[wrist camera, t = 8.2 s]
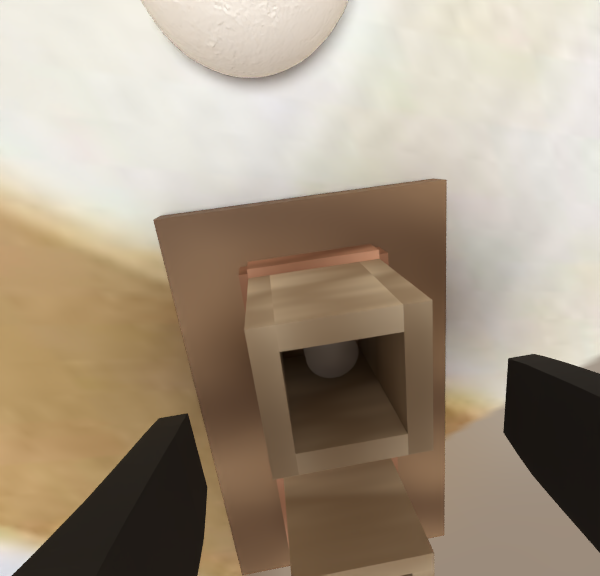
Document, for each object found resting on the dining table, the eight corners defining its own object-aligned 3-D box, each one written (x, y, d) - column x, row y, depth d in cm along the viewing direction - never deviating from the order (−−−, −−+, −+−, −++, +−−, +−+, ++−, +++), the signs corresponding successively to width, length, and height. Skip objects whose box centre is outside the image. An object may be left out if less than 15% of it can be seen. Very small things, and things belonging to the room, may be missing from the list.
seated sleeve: (393, 517, 18) (443, 647, 13) (289, 538, 17) (301, 677, 13) (389, 432, 16) (443, 544, 11) (273, 452, 16) (280, 576, 11)
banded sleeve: (378, 242, 13) (445, 285, 9) (385, 364, 15) (443, 457, 10) (238, 263, 13) (228, 319, 8) (261, 385, 15) (263, 490, 10)
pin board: (435, 517, 19) (477, 602, 16) (243, 554, 19) (239, 652, 15) (433, 178, 14) (499, 184, 10) (160, 215, 13) (122, 236, 9)
